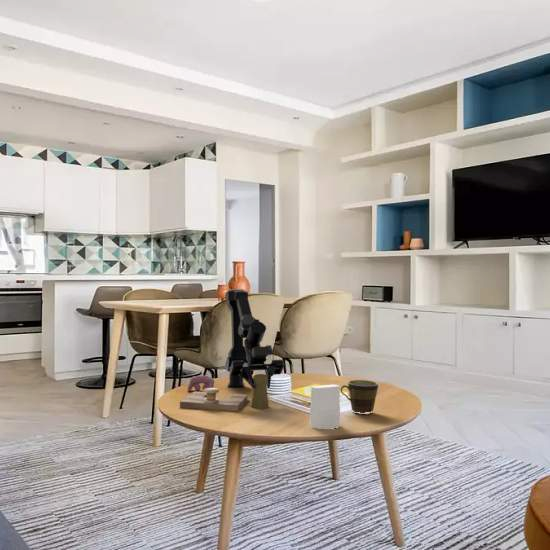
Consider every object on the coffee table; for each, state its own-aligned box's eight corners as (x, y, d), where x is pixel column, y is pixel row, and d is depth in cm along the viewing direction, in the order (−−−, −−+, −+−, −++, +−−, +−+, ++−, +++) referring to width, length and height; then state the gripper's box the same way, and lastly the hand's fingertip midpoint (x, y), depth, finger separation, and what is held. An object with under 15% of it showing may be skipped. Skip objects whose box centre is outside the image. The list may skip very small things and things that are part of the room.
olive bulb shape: (260, 403, 190) (261, 372, 190) (272, 406, 186) (273, 374, 186) (247, 405, 186) (248, 374, 186) (259, 409, 182) (260, 376, 182)
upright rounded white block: (328, 420, 170) (329, 382, 170) (345, 427, 162) (346, 388, 162) (304, 423, 166) (305, 384, 166) (320, 431, 158) (321, 390, 158)
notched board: (194, 396, 197) (194, 380, 197) (247, 400, 194) (248, 383, 194) (179, 407, 181) (180, 389, 181) (237, 411, 178) (238, 393, 178)
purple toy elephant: (213, 395, 208) (215, 377, 211) (211, 392, 204) (213, 374, 207) (188, 393, 209) (191, 376, 212) (186, 390, 205) (188, 372, 208)
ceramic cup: (369, 408, 187) (370, 379, 187) (382, 415, 177) (383, 385, 177) (334, 410, 184) (335, 380, 183) (346, 417, 174) (347, 386, 174)
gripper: (232, 337, 187) (239, 375, 176) (283, 337, 193) (293, 373, 182) (226, 356, 194) (233, 394, 184) (276, 355, 200) (285, 391, 190)
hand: (261, 388), depth 185 cm, fingers closed on olive bulb shape, 5 cm apart
